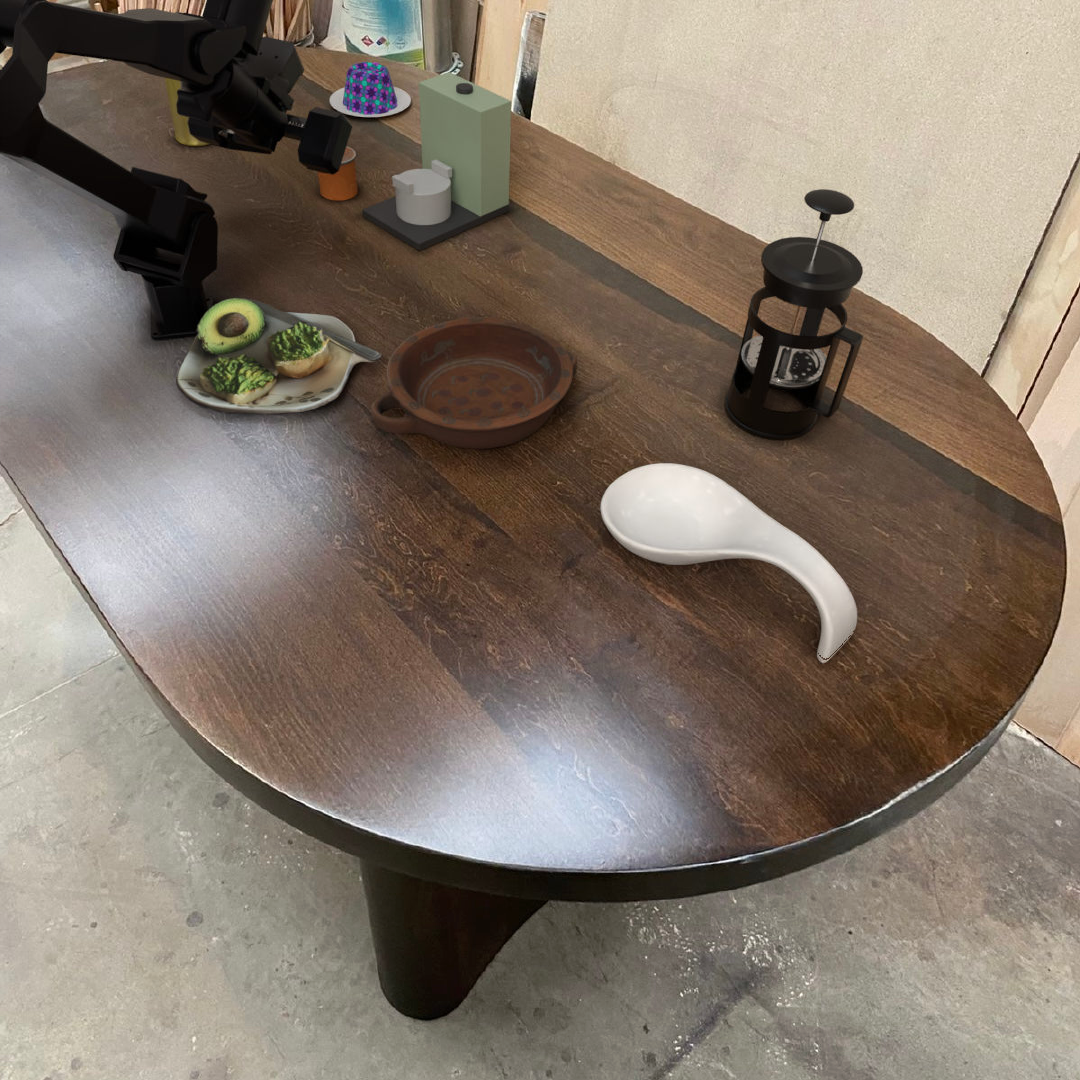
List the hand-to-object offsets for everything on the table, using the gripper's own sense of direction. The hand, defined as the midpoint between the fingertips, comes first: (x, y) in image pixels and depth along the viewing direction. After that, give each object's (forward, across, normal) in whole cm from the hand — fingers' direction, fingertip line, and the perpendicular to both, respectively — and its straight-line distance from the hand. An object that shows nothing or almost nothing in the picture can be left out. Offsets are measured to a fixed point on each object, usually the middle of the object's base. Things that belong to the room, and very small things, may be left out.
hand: (303, 158), depth 115 cm
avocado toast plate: (-15, -13, +26) cm, 33 cm away
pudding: (+28, +10, -18) cm, 34 cm away
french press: (-4, -62, +15) cm, 64 cm away
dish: (-12, -35, +23) cm, 44 cm away
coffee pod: (+10, 0, 0) cm, 10 cm away
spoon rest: (-20, -63, +31) cm, 73 cm away
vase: (+13, +25, -3) cm, 28 cm away
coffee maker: (+10, -14, 0) cm, 17 cm away
